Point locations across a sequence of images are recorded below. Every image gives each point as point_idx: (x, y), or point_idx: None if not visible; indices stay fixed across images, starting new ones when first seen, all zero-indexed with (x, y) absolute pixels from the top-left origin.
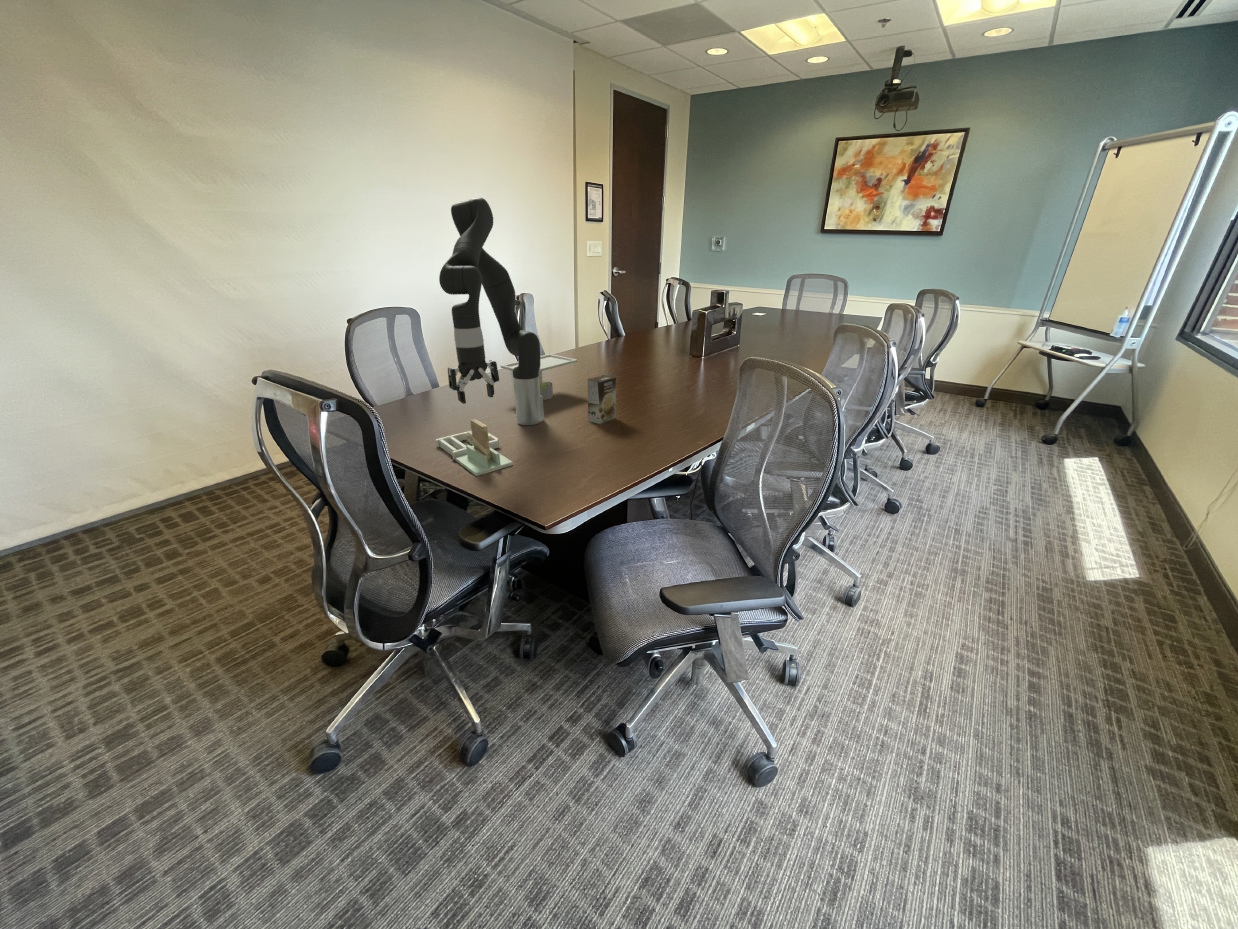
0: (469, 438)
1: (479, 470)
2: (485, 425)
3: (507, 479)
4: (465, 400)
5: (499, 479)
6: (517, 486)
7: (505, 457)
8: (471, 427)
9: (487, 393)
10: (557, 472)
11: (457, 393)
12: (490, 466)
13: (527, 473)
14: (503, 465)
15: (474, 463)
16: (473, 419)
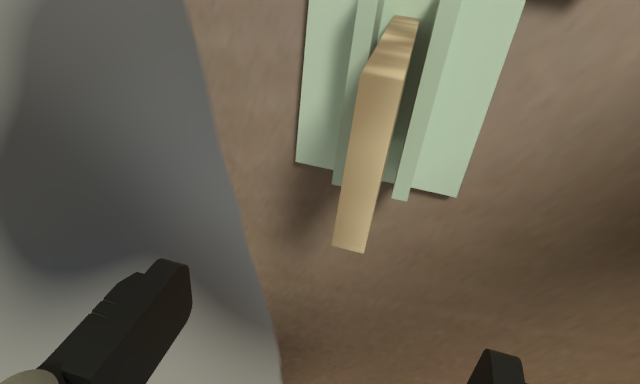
0: None
1: (317, 155)
2: (361, 242)
3: None
4: (174, 336)
5: None
6: (348, 293)
7: (474, 143)
8: (370, 59)
9: (490, 373)
10: (498, 331)
11: (66, 340)
12: None
13: (432, 269)
14: (413, 185)
15: (341, 86)
16: (382, 88)
